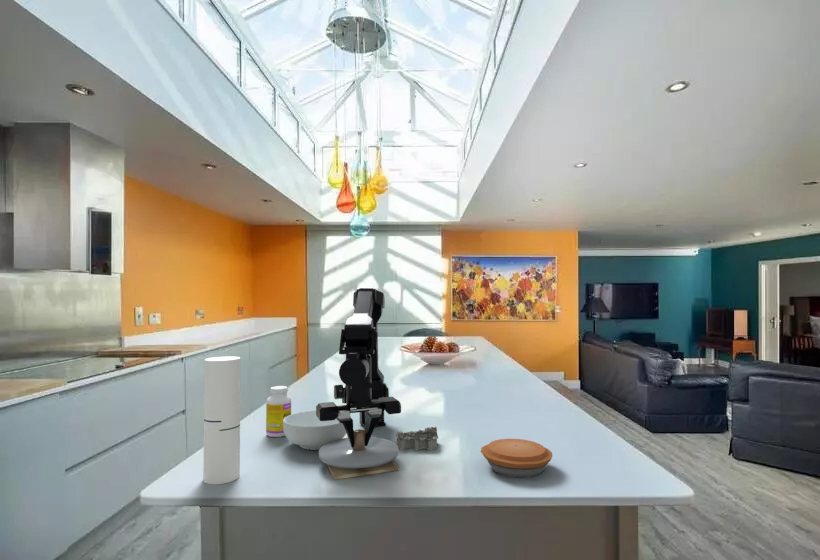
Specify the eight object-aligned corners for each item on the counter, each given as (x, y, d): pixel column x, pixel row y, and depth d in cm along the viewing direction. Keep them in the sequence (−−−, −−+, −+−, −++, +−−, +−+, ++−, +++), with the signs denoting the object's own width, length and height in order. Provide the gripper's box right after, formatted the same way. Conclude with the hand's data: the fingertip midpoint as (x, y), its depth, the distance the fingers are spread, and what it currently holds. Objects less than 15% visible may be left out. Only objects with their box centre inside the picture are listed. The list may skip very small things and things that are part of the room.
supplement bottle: (284, 438, 124) (284, 390, 124) (261, 437, 125) (261, 389, 126) (295, 431, 131) (295, 385, 131) (273, 430, 132) (273, 384, 132)
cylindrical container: (210, 471, 101) (211, 356, 102) (243, 470, 102) (244, 356, 102) (198, 485, 94) (199, 361, 95) (234, 483, 94) (235, 360, 95)
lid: (384, 437, 117) (384, 417, 117) (409, 461, 100) (409, 438, 100) (312, 445, 111) (312, 424, 111) (326, 473, 94) (326, 448, 94)
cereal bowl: (362, 444, 119) (362, 416, 119) (308, 461, 107) (308, 430, 107) (323, 431, 131) (323, 405, 131) (270, 445, 119) (270, 417, 119)
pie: (566, 468, 103) (565, 445, 103) (528, 488, 92) (528, 463, 92) (507, 451, 114) (506, 430, 114) (467, 467, 103) (467, 445, 103)
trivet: (379, 450, 114) (379, 447, 114) (398, 470, 101) (398, 467, 101) (322, 457, 109) (322, 455, 109) (334, 479, 96) (334, 476, 96)
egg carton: (438, 442, 121) (438, 426, 121) (437, 452, 114) (437, 435, 114) (398, 440, 122) (398, 425, 123) (394, 450, 115) (394, 433, 115)
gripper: (386, 369, 117) (387, 431, 116) (312, 374, 110) (312, 440, 110) (401, 376, 106) (402, 445, 106) (320, 382, 100) (320, 456, 99)
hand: (359, 446), depth 106 cm, fingers closed on lid, 3 cm apart
